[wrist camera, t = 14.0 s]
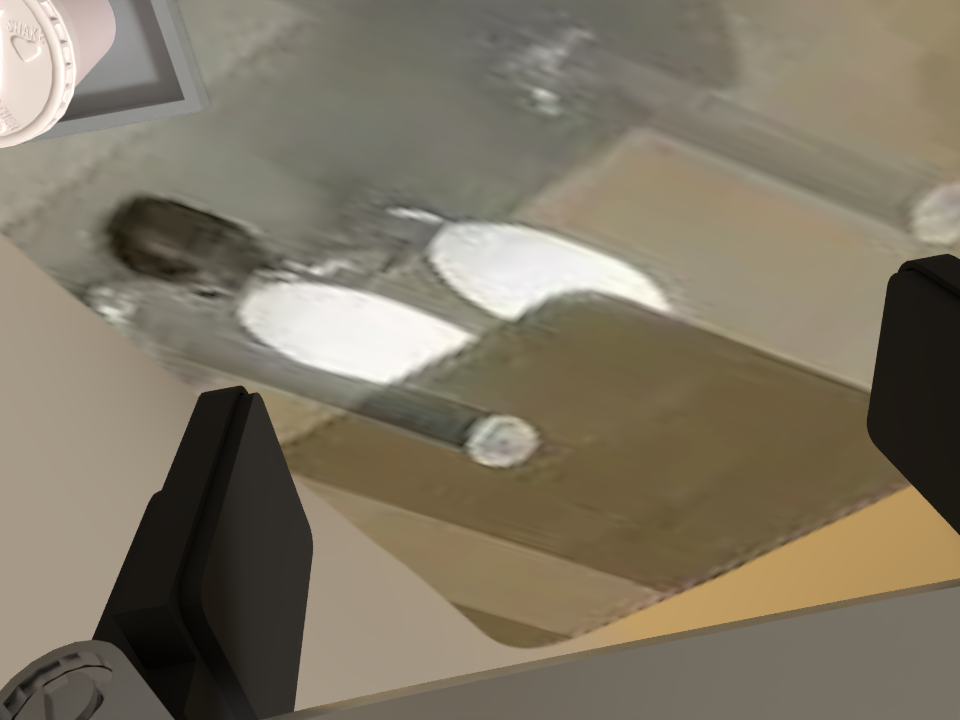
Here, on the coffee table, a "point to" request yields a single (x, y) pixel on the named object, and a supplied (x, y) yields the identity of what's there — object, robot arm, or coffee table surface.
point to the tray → (137, 73)
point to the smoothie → (46, 60)
